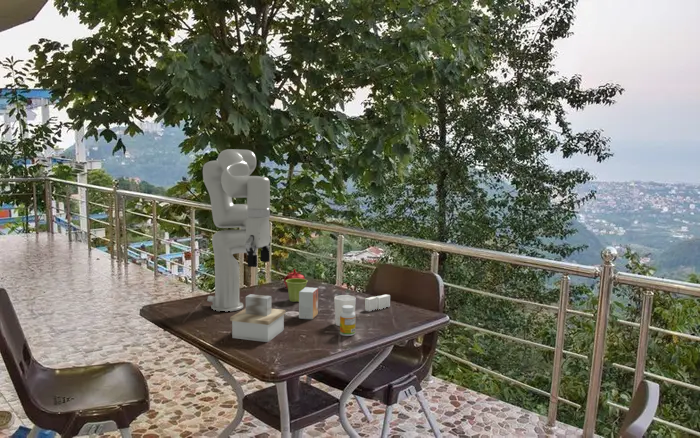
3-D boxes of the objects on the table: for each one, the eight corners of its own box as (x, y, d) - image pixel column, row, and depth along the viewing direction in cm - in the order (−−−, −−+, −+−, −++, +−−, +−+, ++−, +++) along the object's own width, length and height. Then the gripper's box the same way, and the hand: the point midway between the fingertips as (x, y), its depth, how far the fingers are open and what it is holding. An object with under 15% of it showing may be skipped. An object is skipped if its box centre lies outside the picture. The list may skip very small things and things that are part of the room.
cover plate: (230, 320, 170) (230, 299, 170) (249, 309, 184) (249, 289, 183) (268, 324, 167) (268, 303, 166) (285, 313, 180) (285, 293, 179)
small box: (312, 319, 193) (313, 292, 192) (298, 318, 194) (298, 291, 193) (318, 313, 201) (318, 287, 200) (304, 312, 202) (304, 286, 201)
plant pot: (295, 296, 226) (295, 277, 226) (311, 300, 221) (312, 280, 220) (281, 300, 219) (281, 280, 218) (297, 304, 213) (297, 284, 213)
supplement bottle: (339, 331, 180) (339, 304, 179) (354, 331, 180) (354, 304, 179) (340, 336, 175) (340, 308, 174) (355, 336, 175) (356, 308, 174)
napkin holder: (391, 305, 216) (391, 292, 216) (396, 313, 205) (397, 299, 204) (356, 306, 215) (356, 292, 214) (359, 313, 203) (360, 299, 203)
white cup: (339, 328, 183) (340, 301, 182) (330, 322, 190) (330, 296, 189) (359, 325, 187) (359, 299, 185) (349, 319, 193) (349, 294, 192)
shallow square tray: (232, 337, 171) (232, 320, 171) (250, 326, 184) (250, 310, 183) (267, 342, 168) (267, 324, 167) (283, 330, 180) (283, 313, 180)
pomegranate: (307, 287, 245) (308, 268, 244) (300, 291, 236) (301, 271, 235) (288, 285, 247) (288, 266, 247) (280, 289, 238) (281, 270, 237)
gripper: (259, 211, 181) (259, 259, 183) (236, 215, 164) (236, 267, 166) (279, 212, 179) (279, 260, 181) (257, 216, 162) (257, 269, 164)
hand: (258, 263), depth 173 cm, fingers open, 9 cm apart
